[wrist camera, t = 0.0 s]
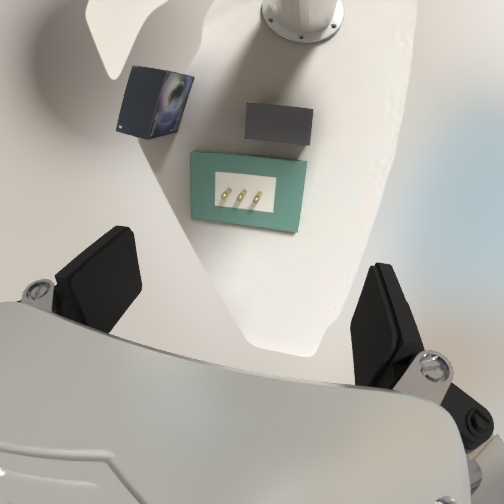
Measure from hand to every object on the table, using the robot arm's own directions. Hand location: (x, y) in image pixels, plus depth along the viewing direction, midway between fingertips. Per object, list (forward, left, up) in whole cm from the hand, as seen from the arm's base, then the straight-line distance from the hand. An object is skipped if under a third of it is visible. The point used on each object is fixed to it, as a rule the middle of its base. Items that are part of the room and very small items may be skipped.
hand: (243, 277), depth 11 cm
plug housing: (-4, -2, -37) cm, 37 cm away
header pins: (+8, -7, -35) cm, 37 cm away
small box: (-7, -21, -37) cm, 43 cm away
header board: (+8, -7, -37) cm, 38 cm away
